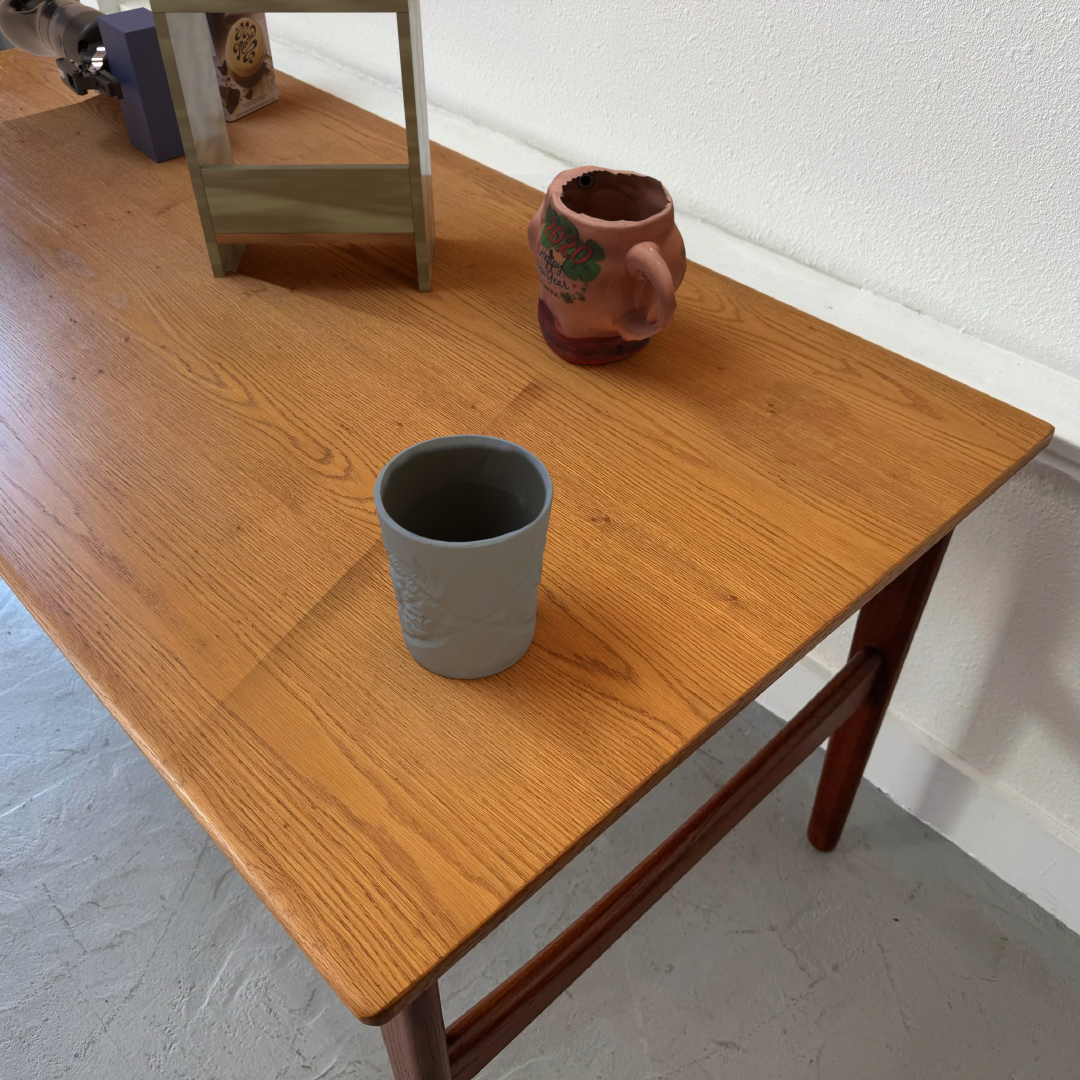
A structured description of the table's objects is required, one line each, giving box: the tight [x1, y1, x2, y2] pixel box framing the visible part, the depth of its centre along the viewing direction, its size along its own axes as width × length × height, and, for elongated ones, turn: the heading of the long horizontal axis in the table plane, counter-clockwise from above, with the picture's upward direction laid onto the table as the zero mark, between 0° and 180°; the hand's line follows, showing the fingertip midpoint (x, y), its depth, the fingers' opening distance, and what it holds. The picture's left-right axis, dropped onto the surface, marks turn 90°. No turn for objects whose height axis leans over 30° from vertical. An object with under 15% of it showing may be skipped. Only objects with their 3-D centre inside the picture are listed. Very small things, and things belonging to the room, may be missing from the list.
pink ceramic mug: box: [526, 165, 687, 365], centre depth 86 cm, size 20×12×14 cm, turn 30°
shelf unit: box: [148, 0, 437, 293], centre depth 92 cm, size 11×20×26 cm, turn 91°
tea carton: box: [96, 6, 185, 164], centre depth 116 cm, size 6×7×14 cm
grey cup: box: [373, 433, 555, 680], centre depth 63 cm, size 10×10×12 cm
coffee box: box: [204, 13, 280, 122], centre depth 125 cm, size 9×6×16 cm
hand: (154, 81), depth 115 cm, fingers open, 8 cm apart
